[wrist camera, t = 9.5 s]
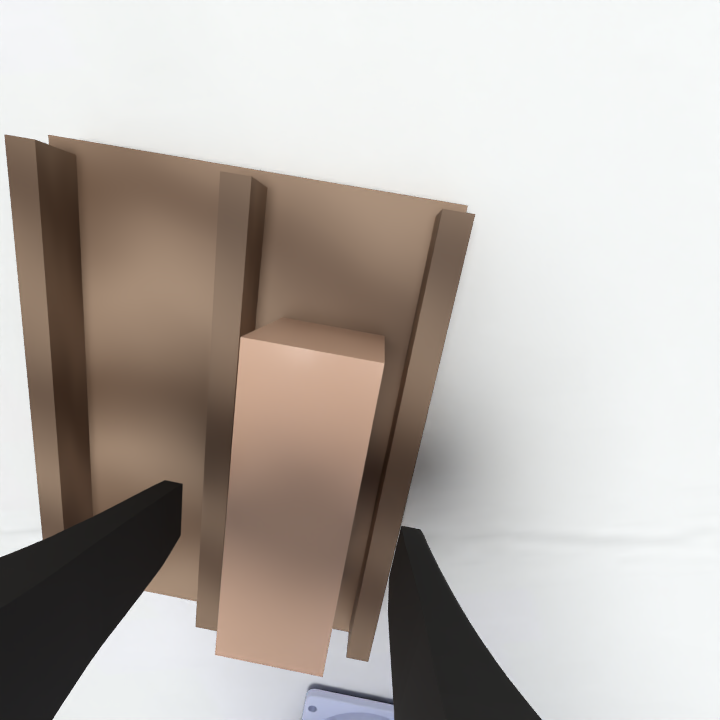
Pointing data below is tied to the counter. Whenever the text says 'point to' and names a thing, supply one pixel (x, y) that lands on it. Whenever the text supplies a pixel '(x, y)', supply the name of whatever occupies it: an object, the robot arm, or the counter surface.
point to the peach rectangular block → (294, 488)
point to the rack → (214, 335)
